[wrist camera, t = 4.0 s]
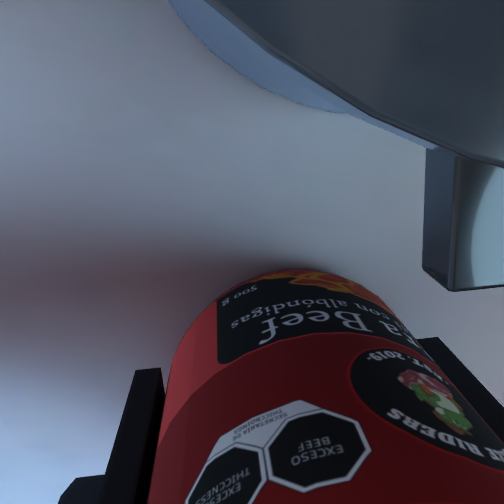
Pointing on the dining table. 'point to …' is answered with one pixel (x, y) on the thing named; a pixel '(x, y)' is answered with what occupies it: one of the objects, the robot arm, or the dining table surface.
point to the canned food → (315, 406)
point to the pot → (393, 97)
